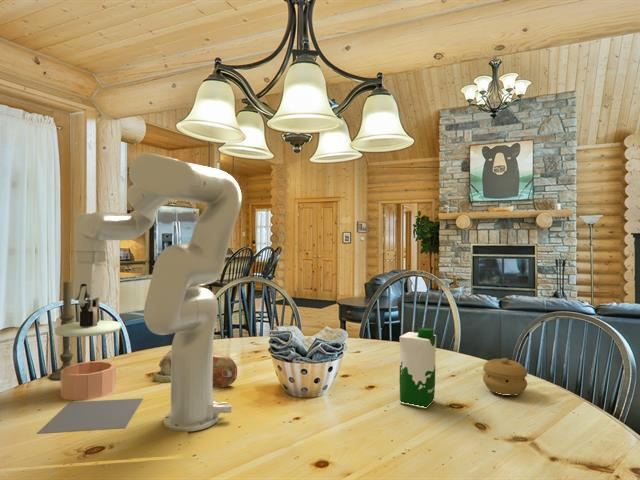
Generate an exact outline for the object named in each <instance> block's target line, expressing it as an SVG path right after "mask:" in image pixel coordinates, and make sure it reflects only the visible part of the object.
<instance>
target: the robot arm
mask: <svg viewBox="0 0 640 480" xmlns="http://www.w3.org/2000/svg"><path fill="white" fill-rule="evenodd" d="M128 174H129V175H128V176H129V180H130V181H131V183H132V185H130V187H128V189H127V193H126V197H127V201H128V202H129V205H131V207H132V208H133V209H134V210H133V211H131V212H130V213H123V212H110V211H109V212H106V211H97V212H92V213H86V212H85V213H78V214H77V215H76V217H75V220H74V223H75V225H74V228H75V229H74V235H75V236H74V237H75V238H74V264H75V268H74V269H75V271H74V276H73V277H74V278H73V279H74V280H73V289H72V291H73V292H72V299H73V300H74V301H77V303H78V305H79V322H80V326H92V325H93V311H92V307H97V323H98V322H99V320H100V298H101V296H103V292H104V268H103V267H104V266H103V264H106V263H107V262H106V260H107V258H106V256H107V255H106V253H107V251H106V249H107V246H106V245H107V241H132V240H135V239H138V238H140V237H141V236H142V235H143V234H145V233H146V232H147V231H149V230H150V229H151V228H152V227H153V225H154V224H155V220H156V218H157V211H158V210H159V209H161V208H162V207H163V206H164V205H166V204H167V203H168V202H169V201H171V200H175V201H181V202H188V203H189V202H191V203H198V204H205V205H206V208H205V209H204V210H203V212H201V214H200V215H199V217H198V218H197V220H196V222H195V224H194V227H193V232H192V235H191V239H190V241H189V243H177V244H171V245H169V246H167V247H165V248H164V249H163V250H162V251H160V253H159V255H158V256H157V258H156V260H155V263H154V266H153V269H152V274H151V277H150V281H149V286H148V290H147V293H146V298H145V304H144V308H143V310H144V311H143V318H144V323H145V325H146V327H147V329H148V330H149V331H150V332H152V333H153V334H155V335H158V336H165V335H171V334H174V336H173V340H172V343H171V349H170V350H171V382H170V411H169V412H168V413H166V414H165V415H164V417H163V419H162V420H163V421H162V424H163V425H164V427H166V428H167V429H170V430H173V431H180V432H185V431H187V432H189V433H190V432H197V431H201V430H202V431H203V430H205V429H207V428H210V427H212V426H213V425H215V424H216V423H217V422H218V421H219V419H220V414H231V413H232V403H231V404H227V403H228V402H227V401H222V402H218V401H217V400H215V396H213V390H214V389H213V386H214V385H213V355H214V339H215V338H214V336H215V328H216V322H217V319H218V312H219V304H218V303H219V302H218V300H217V297H216V295H215V294H214V293H213V291H211V290H210V289H208V288H206V287H201V286H206V285H209V284H213V283H216V281H218V280H219V279H220V276H221V274H222V271H223V268H224V264H225V261H226V257H227V254H228V250H229V246H230V242H231V237H232V234H233V230H234V228H235V224H236V223H237V219H238V217H239V215H240V211H241V208H242V207H241V206H242V192H241V189H240V186H239V183H238V182H237V181H236V180H235V178H234V177H233V176H232V175H230V174H228V173H227V172H226V171H223V170H221V169H217V168H214V167H209V166H204V165H200V164H195V163H191V162H187V161H182V160H180V159H177V158H174V157H171V156H165V155H162V154H158V153H157V154H156V153H153V152H144V153H141V154H139V155H138V156H135V158H134V159H132V162H131V163H130V166H129V168H128Z"/></svg>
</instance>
